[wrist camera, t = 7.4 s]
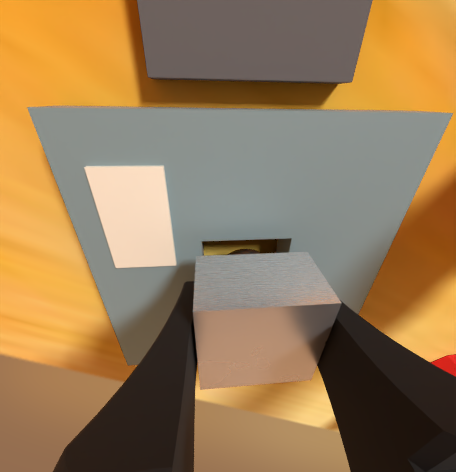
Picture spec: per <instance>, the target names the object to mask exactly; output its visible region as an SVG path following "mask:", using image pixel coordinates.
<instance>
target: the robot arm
mask: <svg viewBox="0 0 456 472" xmlns="http://www.w3.org/2000/svg"><path fill="white" fill-rule="evenodd" d="M194 283H195V281H187V282H185V283H184V285H183V288H182V291H181V293H180V296H179V298H178V300H177V302H176V304H175V306H174V308H173V310H172V312H171V314H170V316H169V318H168V320H167V322H166V323H165V325H164V327H163V328H162V330H161V332H160V333H159V335H158V337H157V338H156V340H155V341H154V343H153V345H152V346H151V348H150V349H149V350H148V352H147V353H146V355H145V356H144V358H143V359H142V360H141V362H140V363H139V364H138V366H137V367H136V368H135V370H134V371H133V372H132V374H131V375H130V376H129V377H128V379H127V380H126V381H125V382H124V384H123V385H122V386H121V387H120V388H119V390H118V391H117V392H116V393H115V394H114V395H113V397H112V398H111V399H110V400H109V401H108V402H107V404H106V405H105V406H104V407H103V408H102V409H101V410H100V412H99V413H98V414H97V415H96V416H95V417H94V418H93V419H92V420H91V421H90V422H89V424H87V426H86V427H85V428H84V429H83V430H82V431H81V432H80V433H79V434H78V435H77V436H76V437H75V438H74V439H73V440H72V441H71V443H69V444H68V445H67V447H66V448H65V449H64V451H63V453H62V455H61V457H60V459H59V461H58V463H57V464H56V467H55V469H54V471H53V472H194V415H195V414H194V413H195V382H196V371H197V361H198V360H197V350H196V339H195V329H194V319H193V300H194ZM340 301H341V300H340ZM341 303H342V304H341V306H340V309H339V311H338V314H337V316H336V319H335V321H334V324H333V326H332V329H331V331H330V334H329V336H328V339H327V341H326V344H325V346H324V349H323V351H322V354H321V357H320V359H319V362H318V364H317V366H318V368H319V371H320V373H321V376H322V378H323V381H324V384H325V387H326V390H327V393H328V396H329V399H330V402H331V405H332V408H333V412H334V415H335V418H336V421H337V424H338V428H339V431H340V434H341V438H342V441H343V445H344V448H345V452H346V455H347V459H348V463H349V467H350V470H351V472H456V376H454V375H452V374H450V373H448V372H446V371H444V370H442V369H441V368H439V367H437V366H435V365H433V364H432V363H430V362H428V361H426V360H425V359H423V358H421V357H420V356H418V355H416V354H415V353H413V352H411V351H410V350H408V349H406V348H405V347H403V346H402V345H400V344H399V343H397V342H395V341H394V340H392V339H391V338H389V337H388V336H387V335H385V334H384V333H382V332H381V331H379V330H378V329H376V328H375V327H374V326H372V325H371V324H370V323H368V322H367V321H366V320H364V319H363V318H362V317H360V316H359V315H358V314H356V313H355V312H354V311H353V310H352V309H350V308H349V307H348V306H347V305H345V304H344V303H343V302H342V301H341Z"/></svg>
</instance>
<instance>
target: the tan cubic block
mask: <svg viewBox="0 0 456 472" xmlns="http://www.w3.org/2000/svg"><path fill="white" fill-rule="evenodd" d="M341 304H342V303H341V301H340V300H339V298H338V297H337V295H336V294H335V292H334V291H333V289H332V288H331V286H330V285H329V283H328V282H327V280H326V279H325V277H324V276H323V274H322V273H321V271H320V270H319V268H318V267H317V265H316V264H315V262H314V261H313V259H312V258H311V256H310V255H309V253H308V252H291V253H265V254H261V253H260V252H258V251H256V250H252V249H240V250H236V251H233V252H231V253H230V254H228V255H213V256H196V266H195V283H194V300H193V319H194V329H195V339H196V350H197V360H198V370H199V380H200V390H202V389H213V388H225V387H237V386H248V385H260V384H271V383H283V382H294V381H306V380H311V379H312V377H313V374H314V372H315V369H316V367H317V364H318V362H319V359H320V357H321V354H322V351H323V349H324V346H325V344H326V341H327V339H328V336H329V334H330V331H331V329H332V326H333V324H334V321H335V319H336V316H337V314H338V311H339V309H340V306H341Z"/></svg>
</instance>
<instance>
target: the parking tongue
mask: <svg viewBox="0 0 456 472" xmlns="http://www.w3.org/2000/svg"><path fill="white" fill-rule="evenodd" d="M137 3H138V10H139V17H140V24H141V32H142V39H143V46H144V53H145V60H146V67H147V75H148V77H149V78H151V79H168V80H209V81H250V82H291V83H332V84H341V83H350V82H352V80H353V76H354V72H355V68H356V64H357V60H358V56H359V52H360V48H361V44H362V40H363V36H364V32H365V28H366V24H367V20H368V16H369V12H370V8H371V4H372V0H137Z"/></svg>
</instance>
